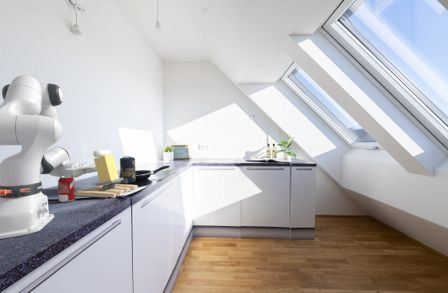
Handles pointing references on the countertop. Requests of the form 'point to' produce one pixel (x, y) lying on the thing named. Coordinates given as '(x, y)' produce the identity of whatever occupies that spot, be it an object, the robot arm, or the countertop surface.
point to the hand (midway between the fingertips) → (95, 170)
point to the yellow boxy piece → (105, 167)
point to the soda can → (66, 189)
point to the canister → (127, 169)
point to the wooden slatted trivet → (107, 190)
